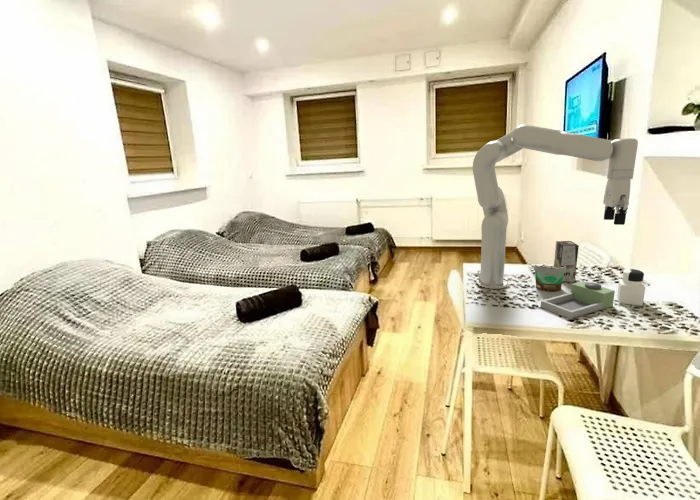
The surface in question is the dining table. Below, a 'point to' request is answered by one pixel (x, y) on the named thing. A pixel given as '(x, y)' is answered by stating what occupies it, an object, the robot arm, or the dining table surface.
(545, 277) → the food container
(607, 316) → the dining table surface
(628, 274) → the medicine bottle
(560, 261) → the coffee box
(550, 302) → the shallow rimmed tray
